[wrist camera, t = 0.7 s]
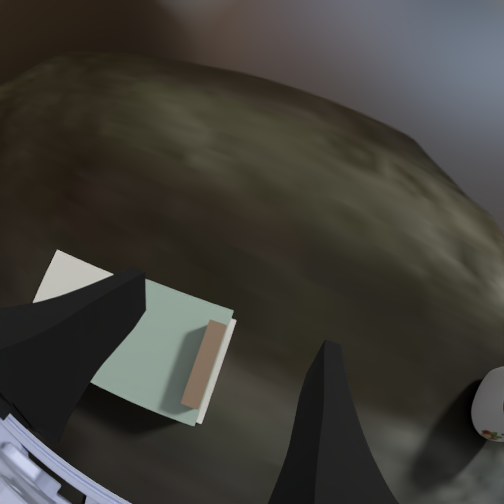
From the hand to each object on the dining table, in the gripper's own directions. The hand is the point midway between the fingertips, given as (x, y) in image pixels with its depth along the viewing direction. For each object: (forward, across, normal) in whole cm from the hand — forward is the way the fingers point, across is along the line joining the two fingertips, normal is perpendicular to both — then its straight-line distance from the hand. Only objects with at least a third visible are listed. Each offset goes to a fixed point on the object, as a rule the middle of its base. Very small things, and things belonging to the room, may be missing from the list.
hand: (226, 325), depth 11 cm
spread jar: (+16, -34, +16) cm, 40 cm away
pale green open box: (+7, +6, +13) cm, 16 cm away
